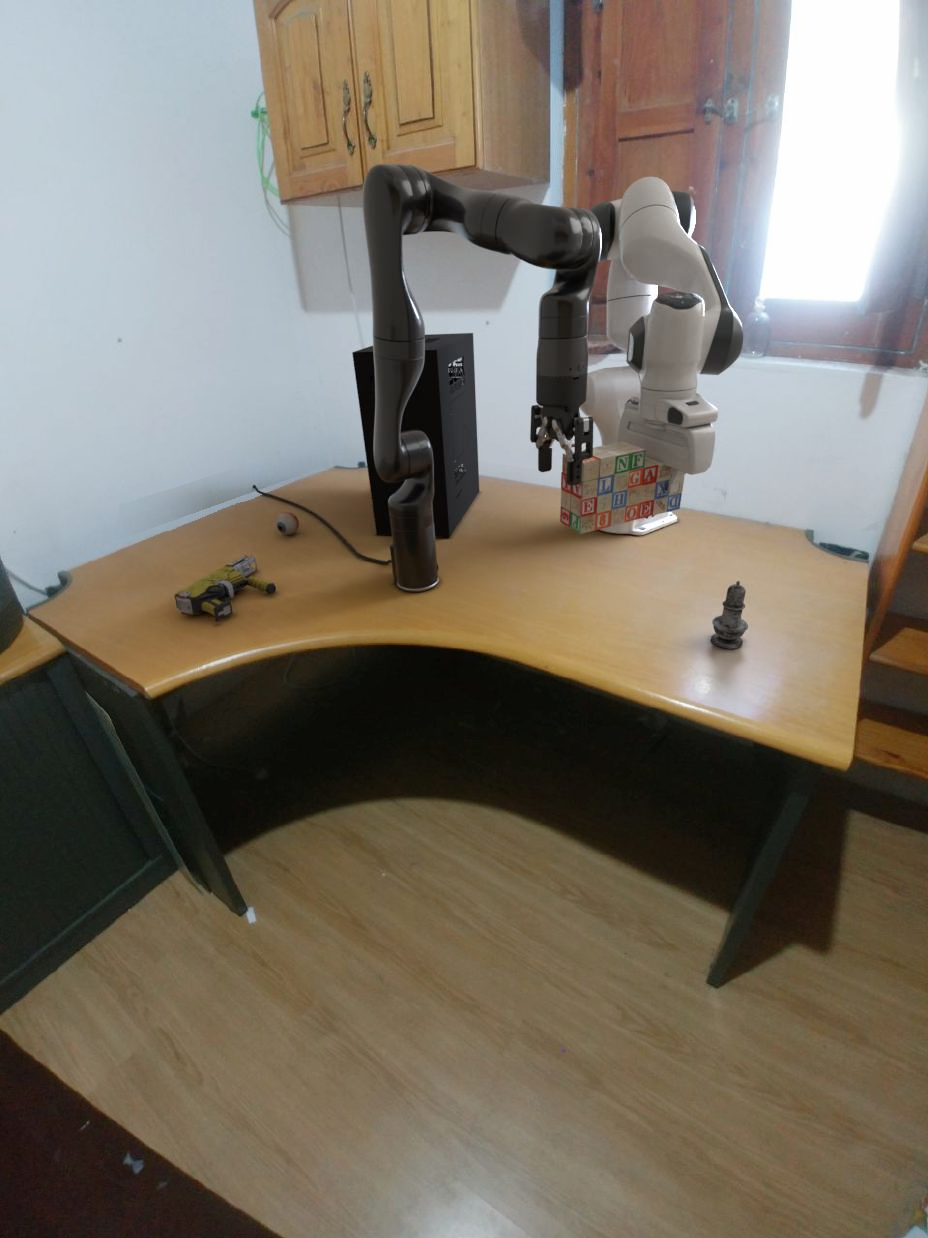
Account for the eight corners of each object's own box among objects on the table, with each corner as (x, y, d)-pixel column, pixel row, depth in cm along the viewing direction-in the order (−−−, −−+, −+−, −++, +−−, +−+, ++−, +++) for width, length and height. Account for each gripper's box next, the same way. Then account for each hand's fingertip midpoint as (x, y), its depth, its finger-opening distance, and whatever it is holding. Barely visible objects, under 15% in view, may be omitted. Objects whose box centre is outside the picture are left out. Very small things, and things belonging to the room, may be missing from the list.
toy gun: (297, 563, 140) (243, 552, 144) (229, 608, 120) (168, 594, 124) (299, 582, 142) (245, 570, 146) (233, 629, 122) (172, 614, 126)
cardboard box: (449, 537, 157) (436, 349, 134) (376, 534, 161) (352, 352, 139) (479, 491, 188) (473, 332, 166) (417, 489, 193) (403, 335, 170)
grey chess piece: (747, 650, 105) (760, 589, 99) (711, 648, 106) (722, 587, 100) (741, 633, 110) (753, 574, 104) (707, 631, 111) (717, 572, 105)
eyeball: (273, 537, 164) (268, 516, 161) (287, 528, 169) (282, 508, 166) (291, 539, 161) (286, 518, 158) (305, 530, 166) (301, 510, 163)
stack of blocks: (656, 499, 113) (665, 432, 106) (680, 510, 108) (690, 440, 101) (559, 522, 105) (561, 452, 99) (579, 534, 100) (583, 461, 94)
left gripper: (516, 367, 93) (516, 471, 102) (567, 378, 82) (563, 493, 90) (557, 362, 96) (554, 463, 104) (612, 372, 85) (604, 485, 93)
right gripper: (612, 397, 107) (606, 473, 114) (695, 418, 91) (682, 506, 98) (640, 392, 109) (633, 467, 116) (727, 412, 93) (712, 498, 100)
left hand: (558, 477), depth 97 cm, fingers open, 8 cm apart
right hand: (656, 485), depth 107 cm, fingers closed on stack of blocks, 6 cm apart
